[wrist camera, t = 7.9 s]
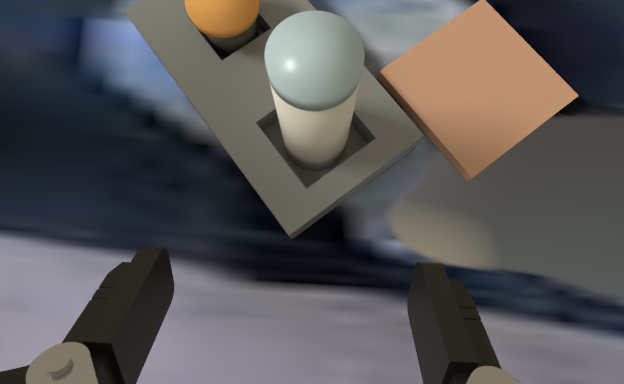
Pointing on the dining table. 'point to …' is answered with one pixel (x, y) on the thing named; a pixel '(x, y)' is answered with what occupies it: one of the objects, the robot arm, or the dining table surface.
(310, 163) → the ball-topped peg
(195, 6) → the plunger
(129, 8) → the grey peg board
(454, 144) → the tile
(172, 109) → the dining table surface
